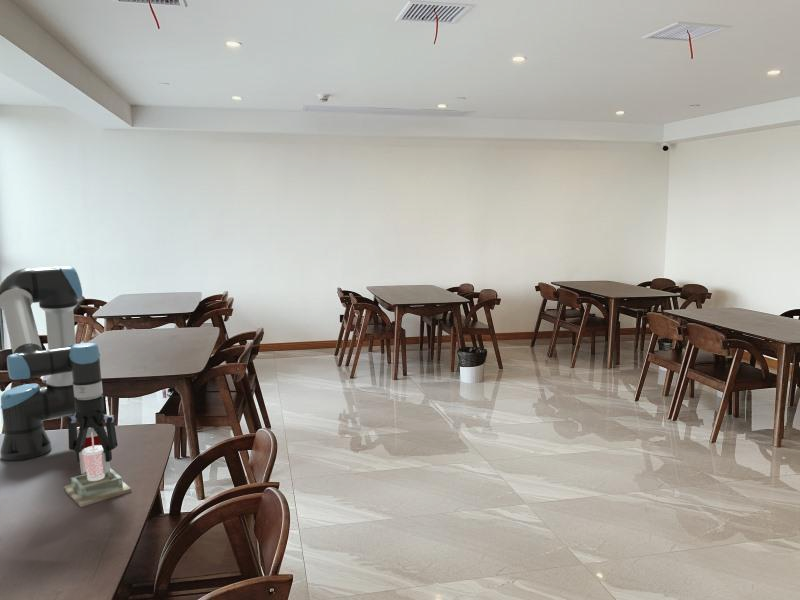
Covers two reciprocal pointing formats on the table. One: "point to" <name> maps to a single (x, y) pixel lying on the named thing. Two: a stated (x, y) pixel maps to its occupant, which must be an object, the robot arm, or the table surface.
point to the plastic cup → (89, 439)
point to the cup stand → (96, 488)
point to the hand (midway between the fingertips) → (95, 471)
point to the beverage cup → (93, 461)
